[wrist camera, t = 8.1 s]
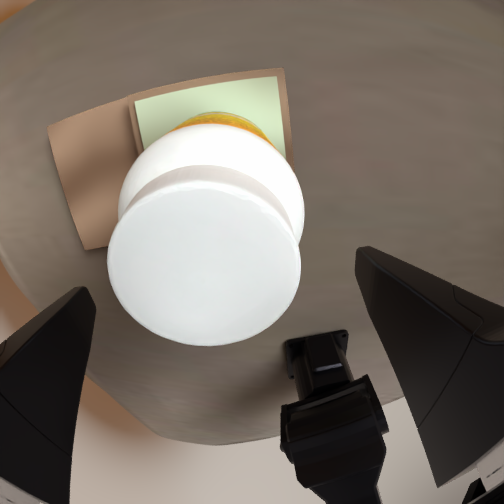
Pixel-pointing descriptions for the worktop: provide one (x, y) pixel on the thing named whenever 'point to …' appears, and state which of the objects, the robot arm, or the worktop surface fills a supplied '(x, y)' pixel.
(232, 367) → the worktop surface
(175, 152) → the supplement bottle
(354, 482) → the robot arm
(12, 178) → the worktop surface
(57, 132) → the step stand
